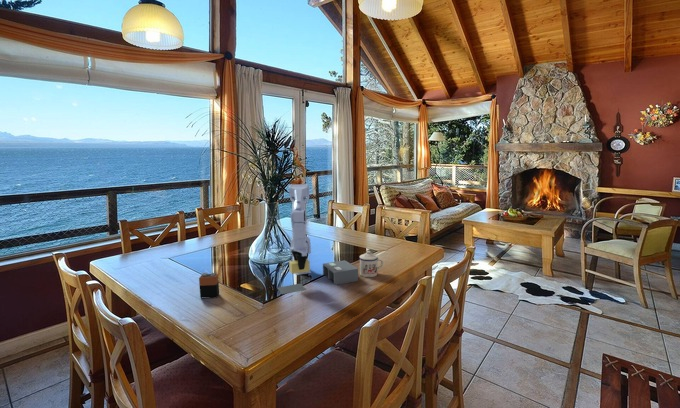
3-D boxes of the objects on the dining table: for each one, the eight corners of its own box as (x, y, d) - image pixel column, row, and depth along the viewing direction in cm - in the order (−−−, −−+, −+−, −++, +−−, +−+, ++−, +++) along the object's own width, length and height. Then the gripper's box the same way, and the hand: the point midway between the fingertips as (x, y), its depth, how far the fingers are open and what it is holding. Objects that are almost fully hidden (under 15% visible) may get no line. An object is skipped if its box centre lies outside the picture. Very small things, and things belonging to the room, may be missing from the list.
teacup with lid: (362, 278, 163) (362, 254, 162) (357, 272, 172) (357, 249, 170) (386, 276, 166) (386, 252, 164) (379, 270, 175) (380, 247, 173)
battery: (203, 294, 147) (201, 272, 145) (219, 293, 147) (218, 271, 146) (200, 298, 142) (198, 275, 141) (217, 298, 143) (215, 274, 142)
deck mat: (276, 288, 152) (276, 287, 152) (300, 284, 157) (300, 283, 157) (281, 295, 145) (281, 294, 145) (306, 290, 150) (306, 289, 150)
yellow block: (289, 271, 152) (289, 261, 151) (306, 268, 155) (306, 258, 154) (292, 274, 148) (291, 263, 147) (309, 271, 151) (309, 261, 151)
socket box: (322, 275, 168) (322, 263, 167) (345, 271, 173) (345, 259, 172) (334, 285, 155) (334, 272, 155) (358, 280, 160) (358, 268, 159)
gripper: (285, 234, 154) (286, 264, 156) (295, 242, 141) (296, 274, 143) (300, 233, 157) (301, 261, 159) (311, 240, 144) (312, 271, 146)
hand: (300, 267), depth 151 cm, fingers closed on yellow block, 4 cm apart
